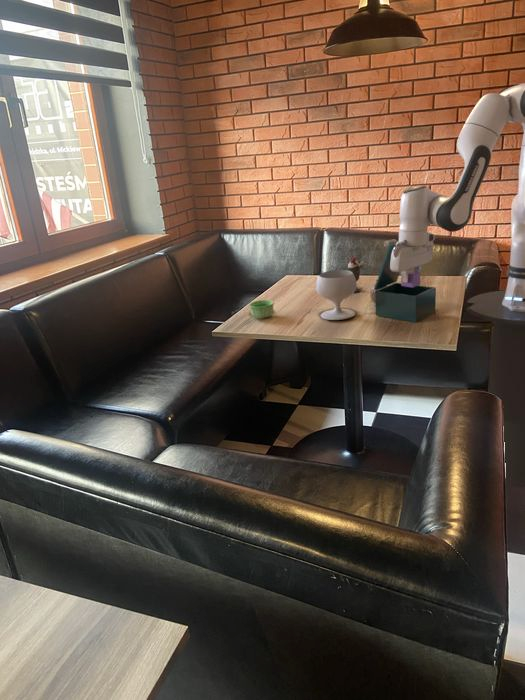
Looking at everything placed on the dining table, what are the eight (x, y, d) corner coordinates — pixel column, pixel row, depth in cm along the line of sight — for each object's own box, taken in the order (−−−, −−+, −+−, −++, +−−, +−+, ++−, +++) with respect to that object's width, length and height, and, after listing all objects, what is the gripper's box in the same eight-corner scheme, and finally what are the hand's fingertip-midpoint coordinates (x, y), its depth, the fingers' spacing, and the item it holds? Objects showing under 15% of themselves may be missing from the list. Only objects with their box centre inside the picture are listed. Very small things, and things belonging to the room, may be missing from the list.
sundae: (350, 293, 215) (348, 256, 209) (344, 290, 221) (342, 254, 215) (365, 290, 216) (364, 253, 211) (358, 287, 222) (357, 251, 217)
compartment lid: (411, 238, 180) (400, 233, 183) (390, 245, 172) (379, 239, 175) (396, 281, 190) (385, 275, 192) (376, 290, 182) (365, 283, 185)
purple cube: (420, 284, 178) (420, 271, 177) (412, 287, 176) (413, 274, 174) (408, 283, 181) (409, 270, 180) (401, 285, 179) (401, 272, 177)
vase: (388, 305, 195) (387, 282, 192) (369, 305, 197) (368, 282, 194) (390, 300, 201) (390, 277, 198) (372, 300, 203) (371, 277, 200)
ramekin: (278, 311, 200) (277, 299, 199) (269, 318, 193) (268, 307, 191) (256, 310, 204) (255, 299, 202) (246, 318, 196) (245, 306, 195)
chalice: (326, 309, 198) (324, 269, 193) (363, 310, 191) (361, 269, 186) (312, 320, 187) (308, 278, 181) (350, 322, 180) (348, 279, 175)
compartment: (435, 312, 183) (436, 287, 180) (415, 322, 175) (416, 296, 172) (395, 306, 193) (395, 282, 190) (375, 315, 186) (375, 290, 182)
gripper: (403, 244, 164) (401, 288, 169) (437, 234, 177) (435, 275, 182) (385, 242, 169) (384, 285, 174) (420, 233, 181) (418, 273, 186)
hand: (410, 280), depth 178 cm, fingers closed on purple cube, 4 cm apart
